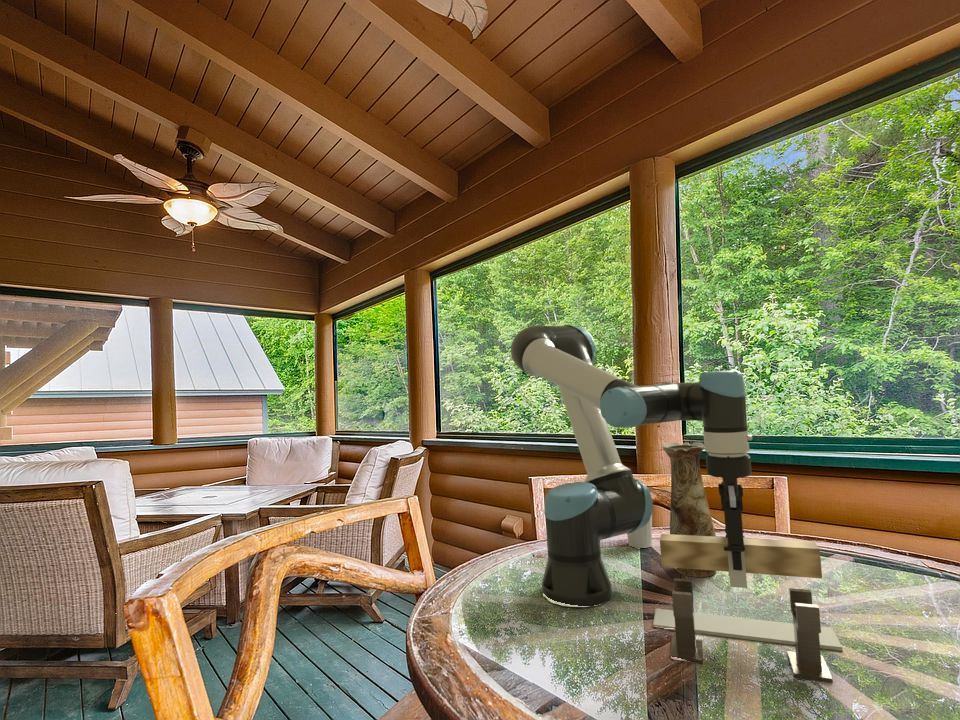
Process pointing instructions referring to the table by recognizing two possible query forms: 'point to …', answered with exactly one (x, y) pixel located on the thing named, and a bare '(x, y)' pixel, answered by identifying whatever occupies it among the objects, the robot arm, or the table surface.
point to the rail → (758, 553)
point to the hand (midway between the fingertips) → (737, 581)
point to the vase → (688, 497)
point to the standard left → (685, 624)
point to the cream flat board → (746, 628)
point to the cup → (641, 536)
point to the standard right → (806, 638)
